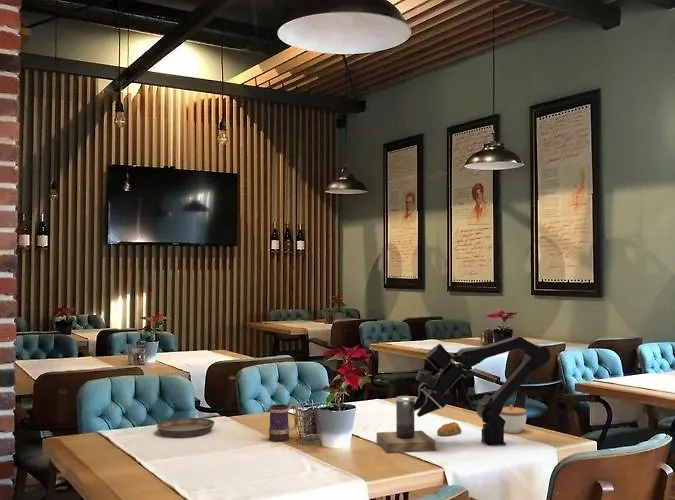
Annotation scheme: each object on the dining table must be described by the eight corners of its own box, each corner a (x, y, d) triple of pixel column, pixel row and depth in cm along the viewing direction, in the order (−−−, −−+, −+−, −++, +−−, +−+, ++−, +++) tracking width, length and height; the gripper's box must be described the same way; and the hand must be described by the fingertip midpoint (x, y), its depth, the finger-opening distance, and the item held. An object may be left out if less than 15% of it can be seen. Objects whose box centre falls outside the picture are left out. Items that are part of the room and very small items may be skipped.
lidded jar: (530, 430, 268) (530, 404, 268) (521, 436, 259) (520, 409, 259) (502, 426, 274) (502, 401, 274) (491, 432, 265) (491, 406, 265)
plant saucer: (156, 440, 256) (156, 431, 256) (156, 428, 276) (156, 419, 276) (216, 437, 261) (216, 427, 261) (212, 425, 281) (212, 416, 281)
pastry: (447, 438, 257) (447, 427, 257) (432, 435, 262) (432, 424, 262) (463, 433, 264) (462, 422, 264) (447, 431, 269) (447, 420, 269)
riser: (422, 439, 255) (421, 430, 255) (435, 450, 239) (435, 441, 239) (376, 441, 252) (376, 432, 252) (387, 453, 237) (387, 443, 237)
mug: (270, 442, 252) (270, 407, 252) (267, 437, 259) (267, 403, 259) (300, 440, 254) (299, 405, 254) (296, 436, 261) (296, 401, 261)
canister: (416, 435, 248) (416, 396, 248) (412, 439, 242) (411, 399, 242) (399, 434, 250) (399, 395, 250) (394, 437, 244) (394, 398, 244)
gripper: (424, 358, 256) (393, 391, 255) (436, 366, 238) (402, 401, 237) (446, 380, 257) (416, 413, 256) (460, 389, 238) (427, 425, 237)
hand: (415, 413), depth 246 cm, fingers open, 9 cm apart
